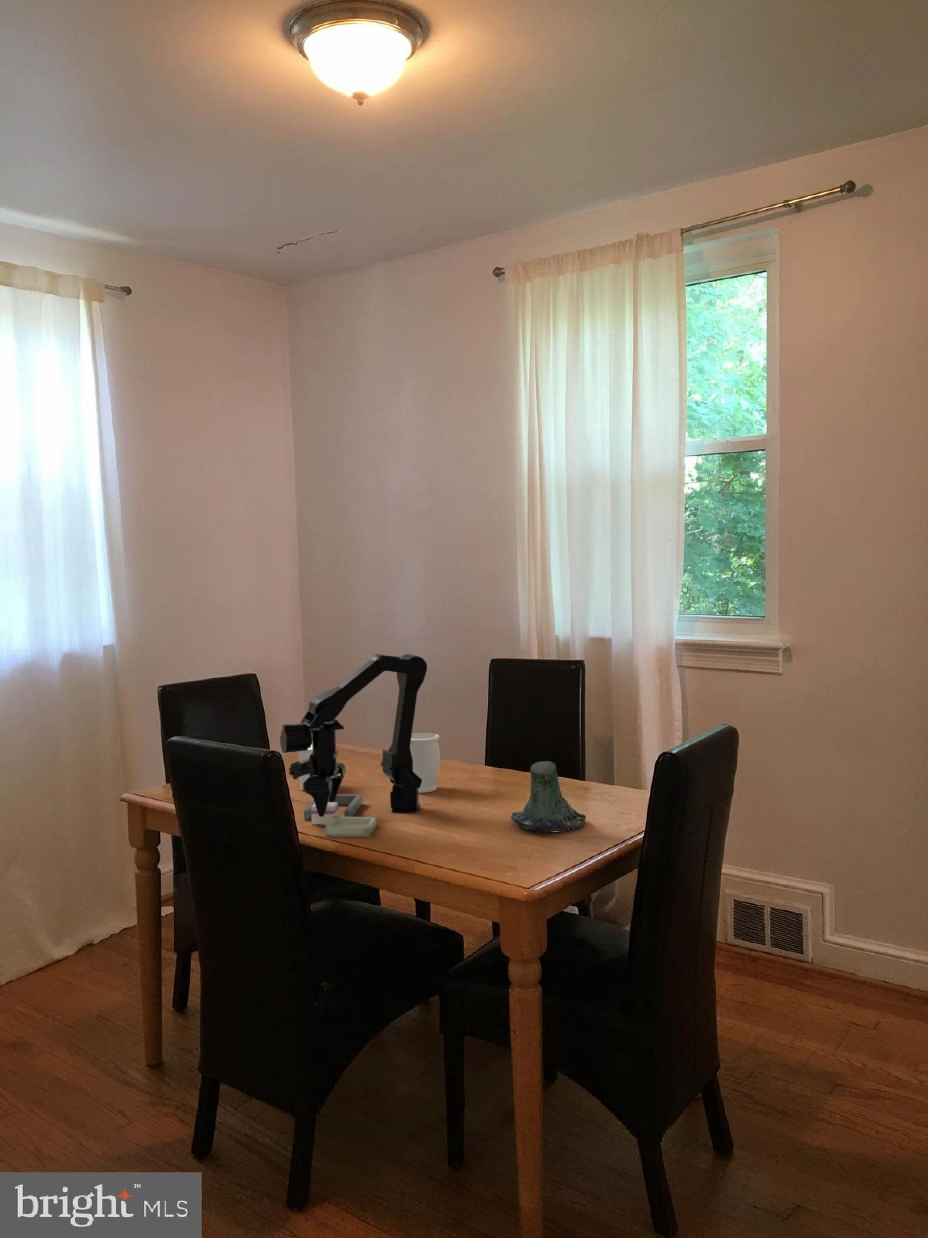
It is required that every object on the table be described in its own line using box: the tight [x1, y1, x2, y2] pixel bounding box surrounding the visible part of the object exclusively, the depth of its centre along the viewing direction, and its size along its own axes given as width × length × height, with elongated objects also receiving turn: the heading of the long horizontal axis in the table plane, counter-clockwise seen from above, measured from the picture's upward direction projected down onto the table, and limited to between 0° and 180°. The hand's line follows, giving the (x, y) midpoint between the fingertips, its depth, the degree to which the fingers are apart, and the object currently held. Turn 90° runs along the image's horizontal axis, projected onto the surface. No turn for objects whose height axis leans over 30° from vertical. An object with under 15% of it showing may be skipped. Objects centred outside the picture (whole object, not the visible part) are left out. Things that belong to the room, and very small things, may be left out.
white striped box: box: [310, 802, 339, 826], centre depth 238 cm, size 6×4×4 cm
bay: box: [303, 793, 363, 821], centre depth 247 cm, size 11×15×2 cm
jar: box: [410, 732, 441, 794], centre depth 268 cm, size 11×10×15 cm
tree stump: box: [510, 760, 587, 832], centre depth 232 cm, size 18×20×18 cm
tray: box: [323, 816, 378, 838], centre depth 231 cm, size 10×10×2 cm
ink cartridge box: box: [298, 745, 316, 791], centre depth 273 cm, size 9×5×15 cm, turn 168°
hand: (326, 811), depth 239 cm, fingers open, 9 cm apart
